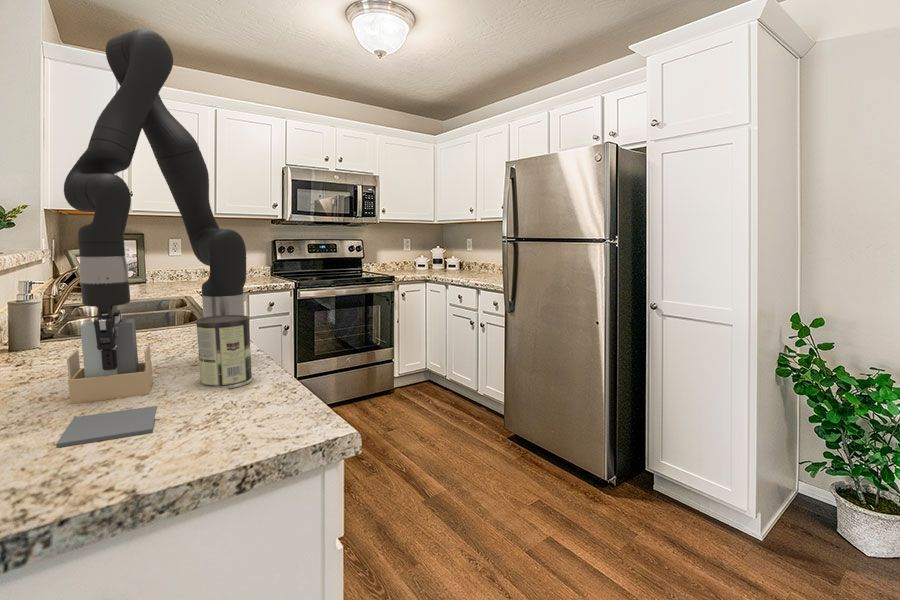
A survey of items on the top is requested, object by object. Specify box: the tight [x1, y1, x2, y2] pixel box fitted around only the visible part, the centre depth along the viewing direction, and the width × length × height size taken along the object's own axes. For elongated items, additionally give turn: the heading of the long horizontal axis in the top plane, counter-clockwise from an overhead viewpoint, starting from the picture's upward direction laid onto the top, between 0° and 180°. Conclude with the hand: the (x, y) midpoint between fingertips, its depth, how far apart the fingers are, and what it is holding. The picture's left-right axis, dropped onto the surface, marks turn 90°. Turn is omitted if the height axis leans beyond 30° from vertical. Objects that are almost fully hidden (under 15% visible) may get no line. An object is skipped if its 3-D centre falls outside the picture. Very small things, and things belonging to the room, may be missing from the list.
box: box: [80, 318, 139, 378], centre depth 92 cm, size 8×5×14 cm, turn 118°
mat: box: [55, 405, 158, 448], centre depth 77 cm, size 12×12×1 cm
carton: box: [66, 343, 154, 405], centre depth 92 cm, size 12×9×9 cm
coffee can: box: [195, 314, 253, 389], centre depth 101 cm, size 10×10×14 cm
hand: (112, 365), depth 92 cm, fingers closed on box, 5 cm apart
